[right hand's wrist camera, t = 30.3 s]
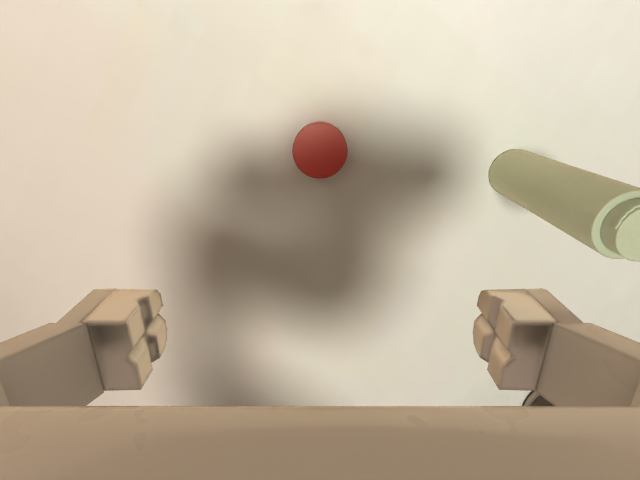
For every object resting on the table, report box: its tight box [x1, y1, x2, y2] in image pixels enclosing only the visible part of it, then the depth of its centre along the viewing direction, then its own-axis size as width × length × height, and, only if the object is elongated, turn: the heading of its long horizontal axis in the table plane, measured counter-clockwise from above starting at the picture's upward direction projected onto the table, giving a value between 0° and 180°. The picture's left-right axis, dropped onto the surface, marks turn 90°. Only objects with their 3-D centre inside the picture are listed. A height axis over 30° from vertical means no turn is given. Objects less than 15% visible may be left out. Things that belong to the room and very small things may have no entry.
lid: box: [293, 122, 347, 178], centre depth 35 cm, size 5×5×2 cm
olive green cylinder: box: [489, 149, 640, 261], centre depth 29 cm, size 4×4×16 cm
